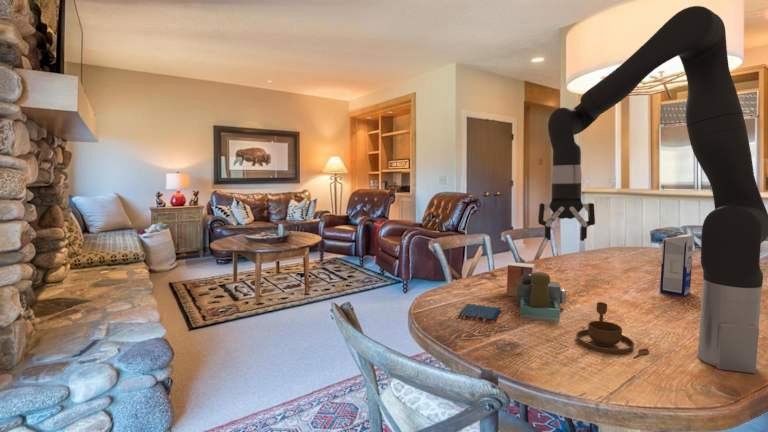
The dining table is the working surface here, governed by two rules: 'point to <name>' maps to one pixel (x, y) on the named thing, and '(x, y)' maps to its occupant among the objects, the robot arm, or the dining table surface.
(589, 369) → the dining table surface
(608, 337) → the place setting
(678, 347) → the dining table surface
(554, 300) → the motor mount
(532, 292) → the cork
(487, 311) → the woven mat
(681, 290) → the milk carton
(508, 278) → the small box
